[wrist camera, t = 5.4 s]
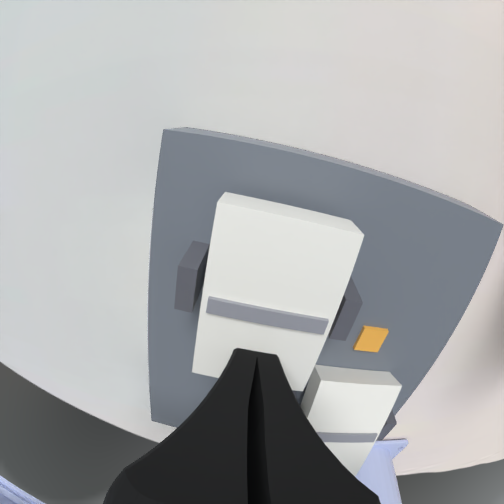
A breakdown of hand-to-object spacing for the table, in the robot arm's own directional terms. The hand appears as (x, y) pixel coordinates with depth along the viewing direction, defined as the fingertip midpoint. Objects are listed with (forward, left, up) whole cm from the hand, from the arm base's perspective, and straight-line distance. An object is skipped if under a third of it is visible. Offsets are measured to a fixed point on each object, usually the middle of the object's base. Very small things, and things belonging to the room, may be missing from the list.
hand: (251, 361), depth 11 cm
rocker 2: (-4, -5, 0) cm, 6 cm away
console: (-1, -3, -5) cm, 5 cm away
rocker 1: (+3, 0, 0) cm, 3 cm away
